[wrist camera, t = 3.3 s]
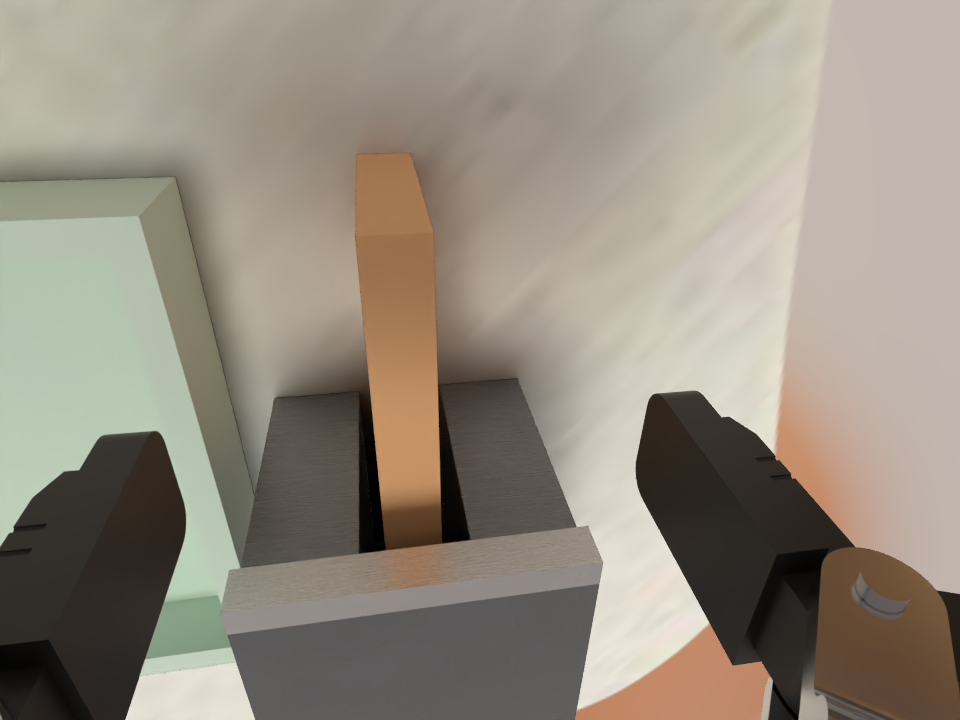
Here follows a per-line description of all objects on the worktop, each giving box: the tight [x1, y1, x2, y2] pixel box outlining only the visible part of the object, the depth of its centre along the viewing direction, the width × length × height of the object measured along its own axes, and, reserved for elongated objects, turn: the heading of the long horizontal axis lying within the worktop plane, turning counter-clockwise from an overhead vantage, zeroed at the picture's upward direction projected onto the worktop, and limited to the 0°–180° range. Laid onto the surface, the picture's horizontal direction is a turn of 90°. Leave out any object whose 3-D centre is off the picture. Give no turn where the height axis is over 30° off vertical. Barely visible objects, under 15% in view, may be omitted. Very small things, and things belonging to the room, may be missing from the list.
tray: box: [0, 177, 255, 676], centre depth 20 cm, size 18×12×4 cm, turn 179°
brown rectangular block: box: [355, 153, 442, 551], centre depth 18 cm, size 10×2×7 cm, turn 179°
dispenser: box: [220, 379, 603, 720], centre depth 21 cm, size 11×9×10 cm
